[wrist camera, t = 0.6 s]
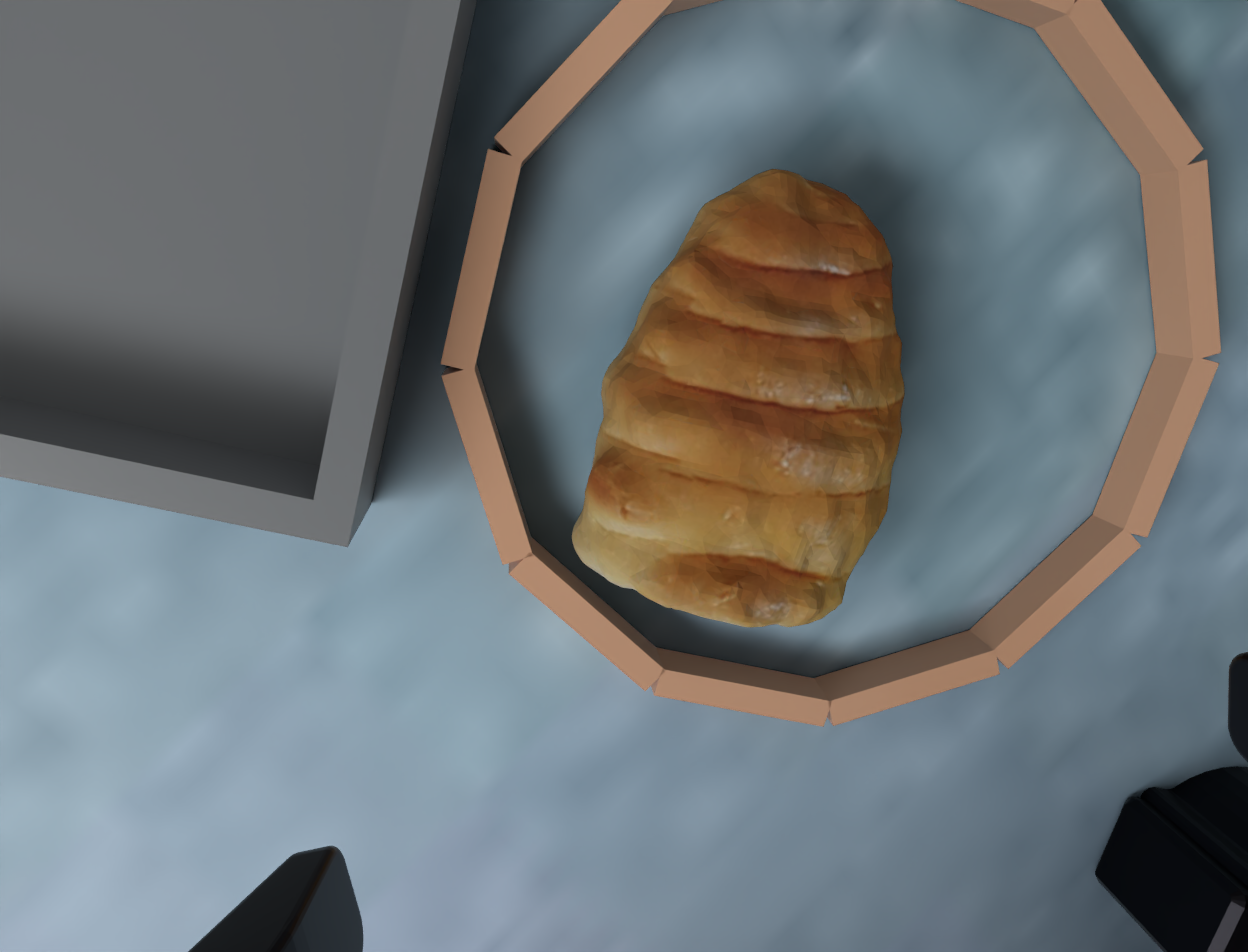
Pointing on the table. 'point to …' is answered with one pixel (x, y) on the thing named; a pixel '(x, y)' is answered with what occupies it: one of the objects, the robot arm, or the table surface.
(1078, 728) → the table surface
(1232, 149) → the table surface
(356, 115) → the bin
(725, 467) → the pastry
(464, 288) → the socket ring
